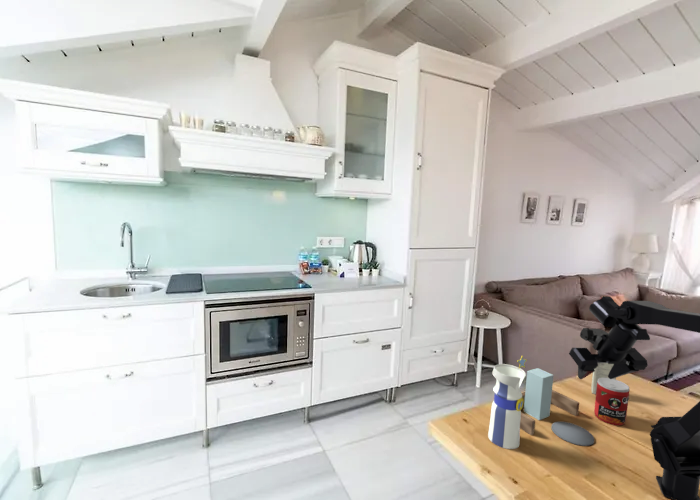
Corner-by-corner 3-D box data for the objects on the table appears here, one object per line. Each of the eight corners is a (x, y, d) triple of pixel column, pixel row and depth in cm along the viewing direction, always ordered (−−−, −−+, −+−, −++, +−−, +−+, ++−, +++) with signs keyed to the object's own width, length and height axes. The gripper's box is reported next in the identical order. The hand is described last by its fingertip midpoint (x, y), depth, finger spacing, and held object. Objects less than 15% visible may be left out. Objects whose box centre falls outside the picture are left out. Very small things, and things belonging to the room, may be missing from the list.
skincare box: (612, 393, 118) (616, 359, 116) (614, 399, 114) (618, 364, 113) (590, 388, 121) (593, 355, 120) (591, 393, 117) (594, 359, 116)
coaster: (596, 450, 88) (596, 449, 88) (551, 437, 93) (551, 435, 93) (592, 430, 97) (592, 429, 97) (551, 418, 102) (551, 417, 102)
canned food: (596, 421, 101) (599, 386, 100) (591, 408, 108) (595, 375, 107) (628, 429, 97) (633, 393, 96) (622, 415, 104) (626, 381, 103)
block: (549, 416, 103) (553, 374, 102) (539, 420, 101) (543, 378, 99) (533, 407, 107) (537, 368, 106) (523, 411, 105) (527, 371, 104)
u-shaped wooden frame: (578, 414, 104) (579, 402, 104) (531, 435, 94) (532, 421, 93) (542, 397, 114) (543, 385, 113) (496, 413, 103) (497, 401, 103)
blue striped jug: (527, 440, 91) (535, 350, 89) (513, 454, 86) (521, 358, 83) (496, 425, 97) (503, 340, 95) (481, 437, 92) (488, 348, 89)
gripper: (630, 318, 98) (605, 355, 106) (568, 318, 97) (548, 355, 105) (662, 348, 89) (632, 387, 97) (594, 348, 87) (570, 387, 95)
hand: (594, 377), depth 99 cm, fingers open, 9 cm apart
